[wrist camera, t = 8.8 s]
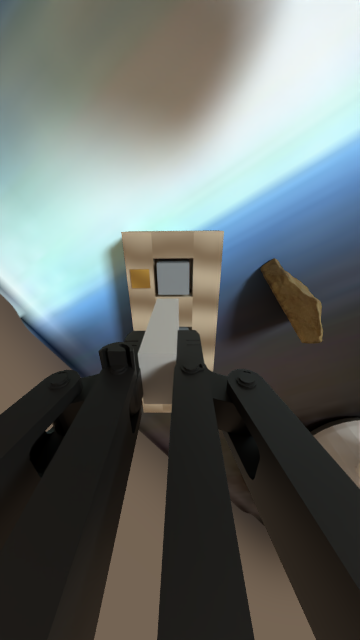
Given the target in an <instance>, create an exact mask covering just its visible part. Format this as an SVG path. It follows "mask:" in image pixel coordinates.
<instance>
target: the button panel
mask: <svg viewBox="0 0 360 640" xmlns="http://www.w3.org/2000/svg"><path fill="white" fill-rule="evenodd" d="M121 233H122V241H123V249H124V257H125V265H126V273H127V281H128V289H129V297H130V305H131V313H132V321H133V329H134V331H146V329H147V326H148V323H149V320H150V317H151V314H152V312H153V309H154V306H155V303H156V300H157V299H175V298H179V327H188V328H189V330H196V331H197V332H198V333H199V334H200V339H201V346H202V352H203V358H204V363H205V364H206V366H207V368H208V369H209V370H210V371H212V372H213V365H214V352H215V339H216V326H217V313H218V301H219V288H220V275H221V262H222V249H223V236H224V231H130V232H121ZM159 259H189V295H158V278H157V262H158V261H159ZM142 402H143V398H142ZM143 410H144V412H171V410H172V404H144V402H143Z"/></svg>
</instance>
